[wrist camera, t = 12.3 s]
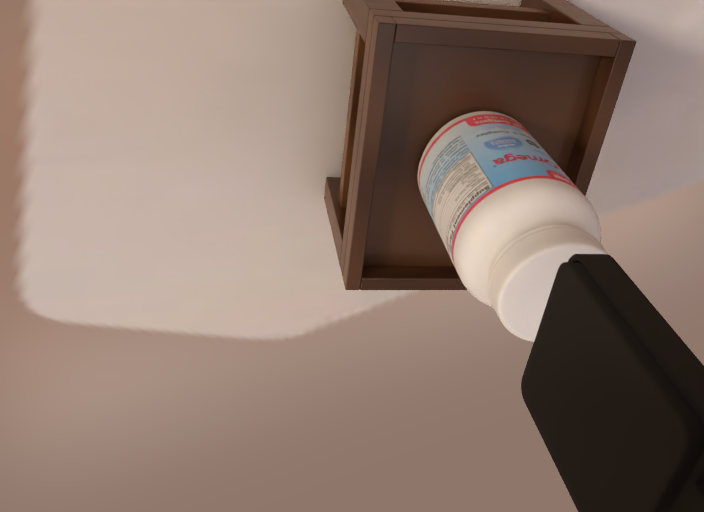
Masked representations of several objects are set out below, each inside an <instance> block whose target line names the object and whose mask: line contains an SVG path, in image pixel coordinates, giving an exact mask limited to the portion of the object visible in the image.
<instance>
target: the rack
mask: <svg viewBox="0 0 704 512" xmlns="http://www.w3.org/2000/svg"><path fill="white" fill-rule="evenodd" d="M343 4H344V6H345V8H346V10H347V11H348V13H349V15H350V17H351V19H352V20H353V22H354V24H355V26H356V28H357V32H356V41H355V50H354V60H353V69H352V78H351V87H350V97H349V106H348V115H347V125H346V134H345V143H344V153H343V162H342V171H341V178H330V177H327V178H326V187H325V197H324V199H325V203H326V208H327V212H328V216H329V221H330V225H331V229H332V233H333V238H334V242H335V246H336V251H337V255H338V259H339V264H340V268H341V272H342V276H343V280H344V285H345V289H346V290H359V289H360V290H467V288H466V287H465V286H464V284H463V283H462V281H461V279H460V277H459V275H458V273H457V271H456V269H455V267H454V265H453V263H452V261H451V258H450V256H449V254H448V252H447V250H446V247H445V245H444V243H443V241H442V239H441V237H440V235H439V233H438V230H437V228H436V226H435V224H434V222H433V220H432V217H431V216H430V213H429V211H428V209H427V207H426V205H425V203H424V200H423V198H422V196H421V193H420V190H419V186H418V167H419V163H420V160H421V157H422V155H423V152H424V150H425V148H426V146H427V144H428V143H429V142H430V140H431V139H432V137H433V136H434V135H435V134H436V133H437V132H438V131H439V130H440V129H441V128H442V127H443V126H444V125H445V124H447V123H448V122H450V121H451V120H453V119H455V118H457V117H459V116H462V115H465V114H468V113H472V112H478V111H492V112H498V113H501V114H504V115H507V116H509V117H511V118H513V119H515V120H516V121H517V122H519V123H520V124H521V125H522V126H523V127H524V128H525V129H526V130H527V131H528V132H529V133H530V134H531V135H532V137H533V138H534V139H535V140H536V141H537V142H538V143H539V145H540V146H541V147H542V148H543V149H544V150H545V151H546V153H547V154H548V155H549V156H550V157H551V158H552V159H553V161H554V162H555V163H556V164H557V165H558V166H559V167H560V169H561V170H562V171H563V172H564V173H565V174H566V175H567V176H568V178H569V179H570V180H571V181H572V182H573V184H574V185H575V186H576V187H577V188H578V189H579V190H580V191H581V192H582V194H583V195H584V196H585V195H586V192H587V189H588V186H589V183H590V180H591V177H592V174H593V171H594V168H595V165H596V162H597V159H598V156H599V153H600V150H601V147H602V144H603V141H604V138H605V135H606V132H607V129H608V126H609V123H610V120H611V117H612V114H613V111H614V108H615V105H616V102H617V99H618V95H619V92H620V89H621V86H622V83H623V80H624V77H625V74H626V71H627V68H628V65H629V62H630V59H631V56H632V53H633V50H634V47H635V44H636V41H635V40H633V39H632V38H630V37H628V36H626V35H625V34H622V33H621V32H619V31H617V30H616V29H614V28H612V27H610V26H609V25H607V24H605V23H604V22H602V21H600V20H599V19H597V18H595V17H593V16H592V15H590V14H588V13H587V12H585V11H583V10H581V9H580V8H578V7H576V6H575V5H573V4H571V3H569V2H568V1H566V0H522V2H521V6H520V7H516V6H503V5H490V4H478V3H465V2H453V1H440V0H343Z"/></svg>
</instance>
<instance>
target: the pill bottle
mask: <svg viewBox="0 0 704 512" xmlns="http://www.w3.org/2000/svg"><path fill="white" fill-rule="evenodd" d="M418 186H419V190H420V193H421V196H422V198H423V200H424V203H425V205H426V207H427V209H428V211H429V213H430V216H431V217H432V220H433V222H434V224H435V226H436V228H437V230H438V233H439V235H440V237H441V239H442V241H443V243H444V245H445V247H446V250H447V252H448V254H449V256H450V258H451V261H452V263H453V265H454V267H455V269H456V271H457V273H458V275H459V277H460V279H461V281H462V283H463V284H464V286H465V287H466V288H467V290H468V291H469V292H470V293H471V294H472V295H473V296H474V297H475V298H477V299H478V300H479V301H481V302H483V303H485V304H486V305H488V306H491V307H493V309H494V310H495V312H496V313H497V315H498V317H499V318H500V320H501V322H502V323H503V325H504V326H505V327H506V328H507V330H509V331H510V332H511V333H512V334H514V335H515V336H517V337H519V338H522V339H524V340H529V341H532V342H534V341H535V338H536V335H537V332H538V329H539V325H540V322H541V319H542V316H543V313H544V310H545V307H546V304H547V301H548V298H549V295H550V292H551V289H552V286H553V283H554V280H555V277H556V274H557V271H558V268H559V266H560V265H561V264H562V263H564V262H568V260H569V259H570V257H571V256H572V255H574V254H607V252H606V251H605V249H604V248H603V246H602V245H601V228H600V223H599V220H598V217H597V214H596V212H595V210H594V208H593V207H592V205H591V204H590V202H589V201H588V200H587V198H586V197H585V196H584V195H583V194H582V192H581V191H580V190H579V189H578V188H577V187H576V186H575V185H574V184H573V182H572V181H571V180H570V179H569V178H568V176H567V175H566V174H565V173H564V172H563V171H562V170H561V169H560V167H559V166H558V165H557V164H556V163H555V162H554V161H553V159H552V158H551V157H550V156H549V155H548V154H547V153H546V151H545V150H544V149H543V148H542V147H541V146H540V145H539V143H538V142H537V141H536V140H535V139H534V138H533V137H532V135H531V134H530V133H529V132H528V131H527V130H526V129H525V128H524V127H523V126H522V125H521V124H520V123H519V122H517V121H516V120H515V119H513V118H511V117H509V116H507V115H504V114H501V113H498V112H492V111H478V112H472V113H468V114H465V115H462V116H459V117H457V118H455V119H453V120H451V121H450V122H448V123H447V124H445V125H444V126H443V127H442V128H441V129H440V130H439V131H438V132H437V133H436V134H435V135H434V136H433V137H432V139H431V140H430V142H429V143H428V144H427V146H426V148H425V150H424V152H423V155H422V157H421V160H420V163H419V167H418ZM607 255H608V254H607Z"/></svg>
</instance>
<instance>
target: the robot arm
mask: <svg viewBox="0 0 704 512" xmlns="http://www.w3.org/2000/svg"><path fill="white" fill-rule="evenodd" d="M521 389H522V395H523V399H524V401H525V403H526V406H527V408H528V410H529V412H530V414H531V416H532V418H533V420H534V422H535V424H536V426H537V428H538V430H539V432H540V434H541V436H542V438H543V440H544V442H545V444H546V446H547V448H548V451H549V452H550V455H551V457H552V459H553V461H554V463H555V465H556V467H557V469H558V471H559V473H560V475H561V477H562V479H563V481H564V483H565V485H566V487H567V489H568V491H569V493H570V496H571V498H572V500H573V501H574V504H575V506H576V508H577V510H578V512H704V366H703V365H702V363H701V362H700V361H699V360H698V359H697V357H696V356H695V355H694V354H693V353H692V351H691V350H690V349H689V348H688V347H687V345H686V344H685V343H684V342H683V341H682V340H681V338H680V337H679V336H678V335H677V334H676V332H675V331H674V330H673V329H672V328H671V326H670V325H669V324H668V323H667V322H666V320H665V319H664V318H663V317H662V316H661V315H660V313H659V312H658V311H657V310H656V309H655V307H654V306H653V305H652V304H651V303H650V302H649V300H648V299H647V298H646V297H645V295H644V294H643V293H642V292H641V291H640V290H639V288H638V287H637V286H636V285H635V284H634V282H633V281H632V280H631V279H630V278H629V277H628V275H627V274H626V273H625V272H624V271H623V269H622V268H621V267H620V266H619V265H618V263H617V262H616V261H615V260H614V259H613V258H612V257H611V256H610V255H607V254H574V255H572V256H571V257H570V259H569V260H568V262H564V263H562V264H561V265H560V266H559V268H558V271H557V274H556V277H555V280H554V283H553V286H552V289H551V292H550V295H549V298H548V301H547V304H546V307H545V310H544V313H543V316H542V319H541V322H540V325H539V329H538V332H537V335H536V338H535V341H534V344H533V347H532V350H531V353H530V356H529V359H528V362H527V365H526V368H525V371H524V374H523V377H522V383H521Z"/></svg>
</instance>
